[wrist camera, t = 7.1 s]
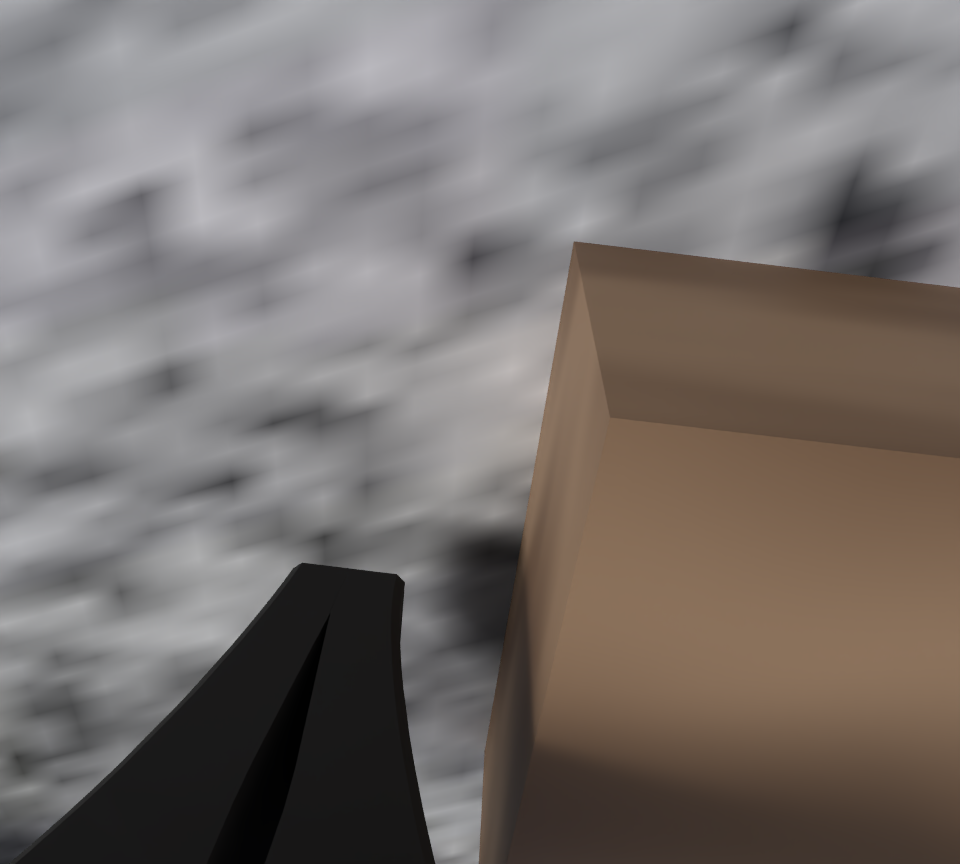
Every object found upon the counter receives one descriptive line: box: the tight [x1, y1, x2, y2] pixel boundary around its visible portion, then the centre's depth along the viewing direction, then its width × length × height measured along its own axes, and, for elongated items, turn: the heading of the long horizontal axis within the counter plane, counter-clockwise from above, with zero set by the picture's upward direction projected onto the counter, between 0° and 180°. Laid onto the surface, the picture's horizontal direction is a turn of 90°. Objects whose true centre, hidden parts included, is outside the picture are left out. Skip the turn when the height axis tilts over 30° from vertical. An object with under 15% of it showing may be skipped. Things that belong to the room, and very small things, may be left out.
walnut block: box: [479, 242, 960, 864], centre depth 10 cm, size 10×8×4 cm
